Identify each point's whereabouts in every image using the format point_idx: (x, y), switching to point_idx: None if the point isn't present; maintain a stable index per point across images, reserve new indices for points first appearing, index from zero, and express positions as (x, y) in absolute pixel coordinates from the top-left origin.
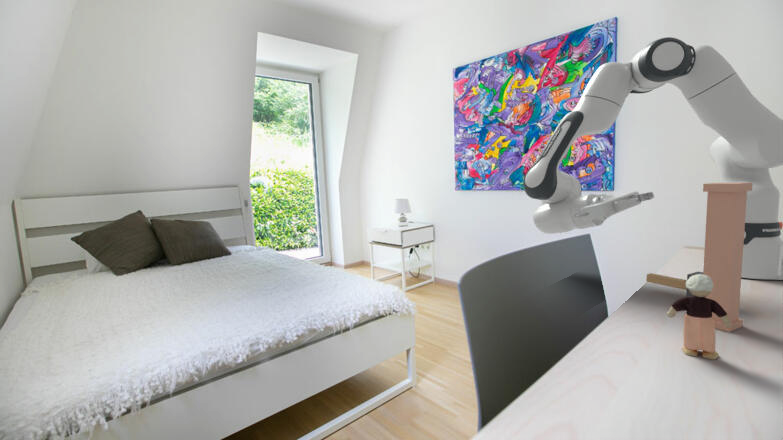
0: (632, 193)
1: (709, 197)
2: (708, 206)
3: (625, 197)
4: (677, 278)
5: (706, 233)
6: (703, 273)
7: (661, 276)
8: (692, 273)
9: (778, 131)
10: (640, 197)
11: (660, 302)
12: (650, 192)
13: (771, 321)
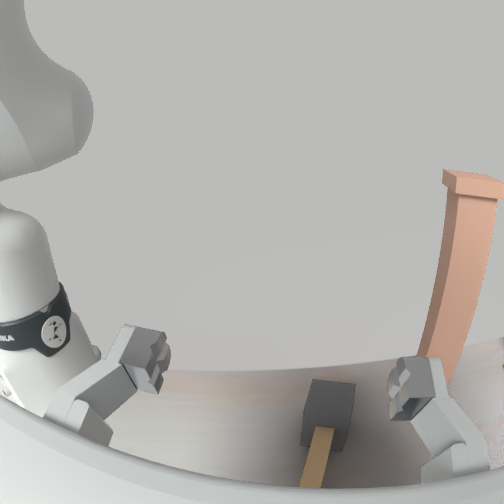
0: (49, 422)
1: (494, 208)
2: (493, 226)
3: (216, 477)
4: (310, 452)
5: (483, 277)
6: (464, 342)
7: (314, 480)
8: (333, 412)
9: (83, 83)
10: (98, 402)
11: (388, 473)
12: (149, 329)
13: (354, 367)
